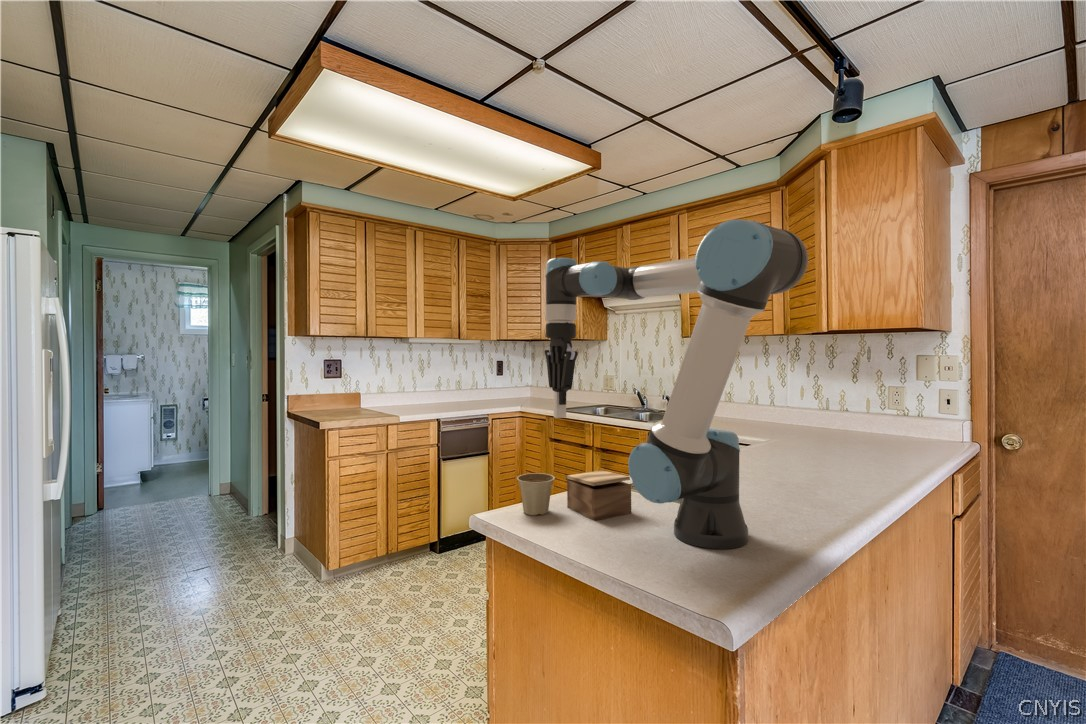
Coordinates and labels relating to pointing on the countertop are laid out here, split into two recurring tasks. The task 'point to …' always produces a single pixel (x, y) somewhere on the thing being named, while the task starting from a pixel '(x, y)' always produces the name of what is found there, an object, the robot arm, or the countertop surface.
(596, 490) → the box
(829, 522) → the countertop surface
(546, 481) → the flower pot
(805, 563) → the countertop surface
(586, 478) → the lid
